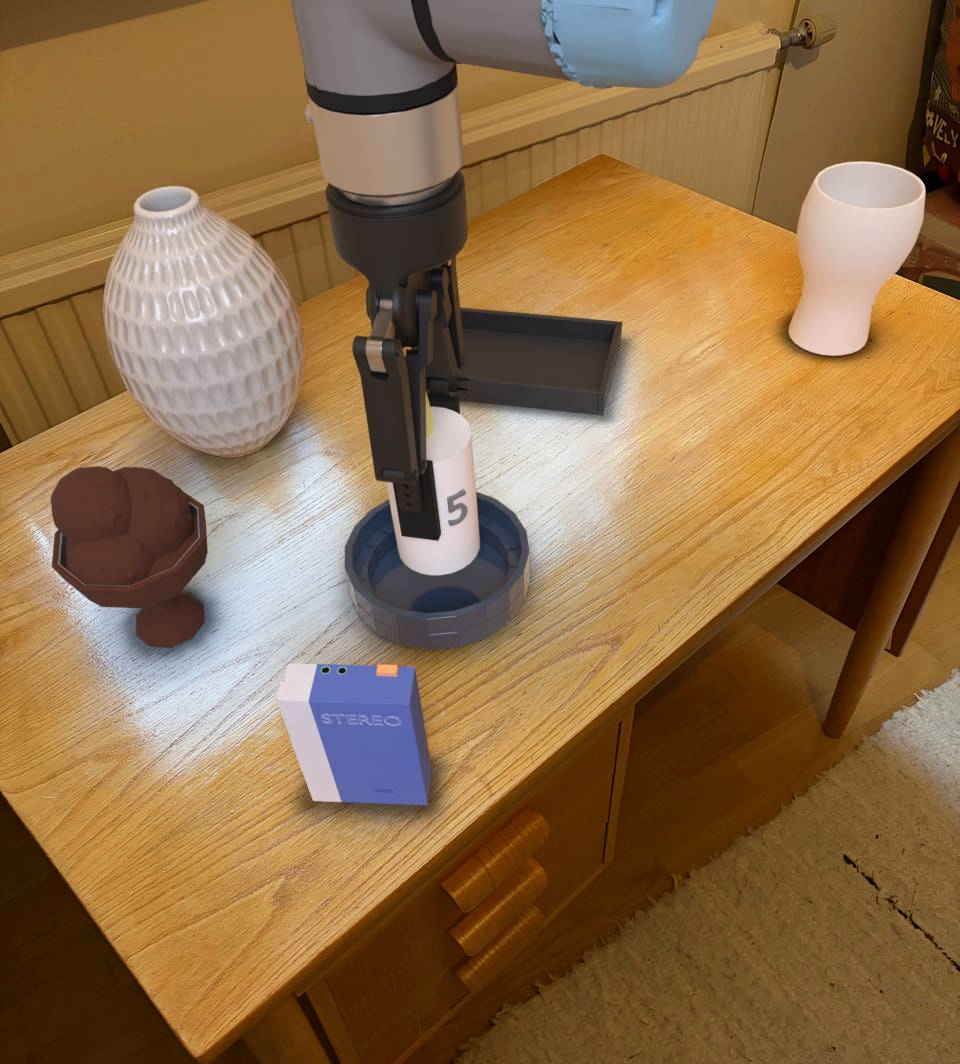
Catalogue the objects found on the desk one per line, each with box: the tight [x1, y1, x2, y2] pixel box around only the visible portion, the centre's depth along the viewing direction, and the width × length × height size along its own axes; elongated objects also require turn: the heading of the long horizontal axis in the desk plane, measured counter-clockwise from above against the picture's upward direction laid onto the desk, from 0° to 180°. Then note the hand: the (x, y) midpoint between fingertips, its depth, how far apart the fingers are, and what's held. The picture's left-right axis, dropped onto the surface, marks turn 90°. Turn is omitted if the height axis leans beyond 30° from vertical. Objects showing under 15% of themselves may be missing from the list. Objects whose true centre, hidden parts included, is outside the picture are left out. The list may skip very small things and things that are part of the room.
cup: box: [787, 161, 927, 357], centre depth 87 cm, size 11×11×15 cm
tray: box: [426, 307, 623, 416], centre depth 90 cm, size 19×12×2 cm, turn 77°
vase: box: [102, 185, 306, 459], centre depth 78 cm, size 16×16×22 cm
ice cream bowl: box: [50, 465, 209, 649], centre depth 66 cm, size 11×11×15 cm
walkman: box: [275, 662, 433, 806], centre depth 57 cm, size 8×3×12 cm, turn 86°
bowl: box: [343, 490, 531, 651], centre depth 71 cm, size 14×14×4 cm
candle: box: [385, 393, 480, 575], centre depth 64 cm, size 6×6×15 cm
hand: (434, 501), depth 66 cm, fingers closed on candle, 6 cm apart
